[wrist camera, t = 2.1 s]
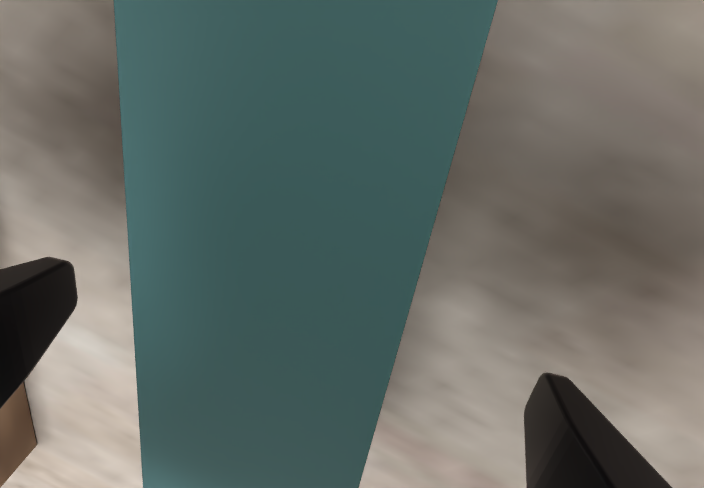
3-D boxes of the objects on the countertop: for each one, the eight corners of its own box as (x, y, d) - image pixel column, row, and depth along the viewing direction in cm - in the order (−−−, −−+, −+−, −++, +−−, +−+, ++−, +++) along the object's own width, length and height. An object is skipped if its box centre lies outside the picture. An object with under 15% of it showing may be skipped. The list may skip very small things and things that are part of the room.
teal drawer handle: (349, 427, 16) (296, 703, 10) (259, 406, 16) (153, 664, 10) (474, -79, 9) (556, -202, 3) (318, -109, 9) (96, -284, 3)
